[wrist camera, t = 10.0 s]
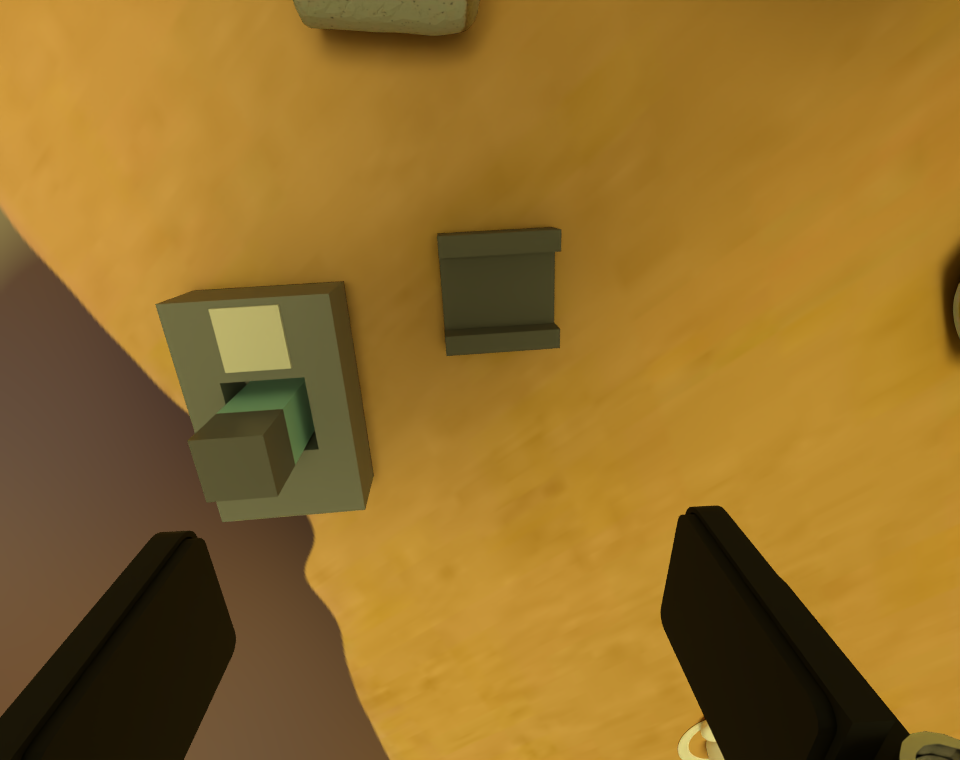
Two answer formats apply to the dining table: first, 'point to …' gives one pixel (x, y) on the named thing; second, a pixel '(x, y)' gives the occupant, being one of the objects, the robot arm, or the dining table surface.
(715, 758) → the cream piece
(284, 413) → the plug
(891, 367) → the dining table surface
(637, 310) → the dining table surface
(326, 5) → the ceramic mug
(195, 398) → the port panel
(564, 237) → the dining table surface
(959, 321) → the air freshener
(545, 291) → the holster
